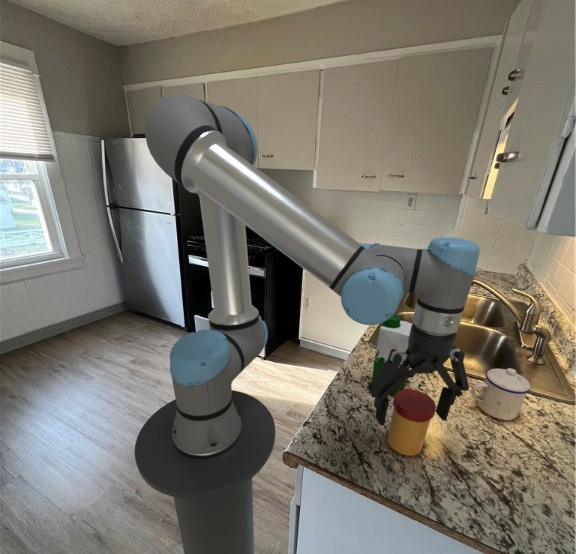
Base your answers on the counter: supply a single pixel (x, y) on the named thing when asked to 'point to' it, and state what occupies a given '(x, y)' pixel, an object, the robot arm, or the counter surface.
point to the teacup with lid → (502, 393)
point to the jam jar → (406, 434)
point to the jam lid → (414, 405)
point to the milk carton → (391, 342)
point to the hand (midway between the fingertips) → (410, 418)
